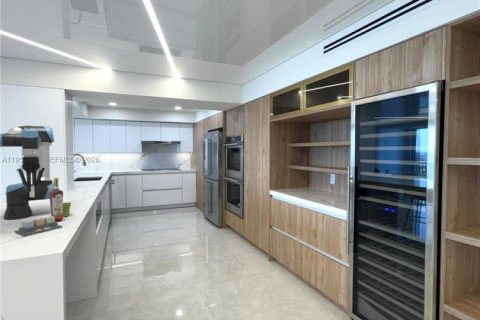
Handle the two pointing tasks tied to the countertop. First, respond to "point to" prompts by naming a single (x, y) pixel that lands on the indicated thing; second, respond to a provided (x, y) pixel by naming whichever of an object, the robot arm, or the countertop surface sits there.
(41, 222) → the key terracotta
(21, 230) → the keypad
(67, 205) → the plant pot
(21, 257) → the countertop surface
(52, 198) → the liquor
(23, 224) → the key bluegrey
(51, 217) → the key sage
